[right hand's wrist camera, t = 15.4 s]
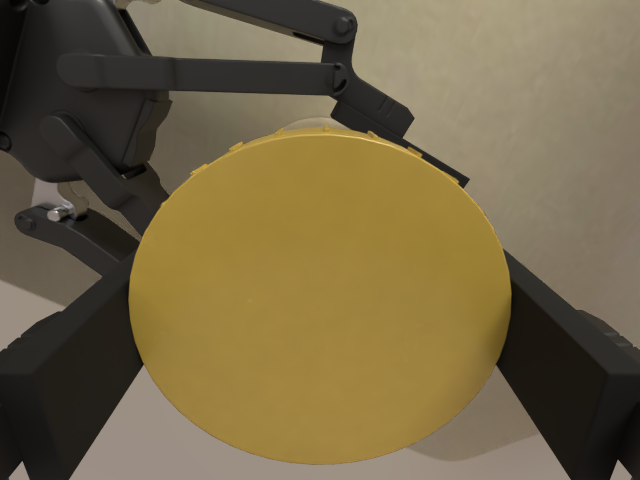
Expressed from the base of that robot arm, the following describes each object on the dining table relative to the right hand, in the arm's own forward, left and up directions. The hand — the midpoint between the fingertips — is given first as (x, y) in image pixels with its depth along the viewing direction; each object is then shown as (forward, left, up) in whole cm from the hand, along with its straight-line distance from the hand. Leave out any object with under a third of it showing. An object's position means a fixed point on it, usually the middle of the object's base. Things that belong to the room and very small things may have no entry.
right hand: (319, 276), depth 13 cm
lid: (0, 0, +3) cm, 3 cm away
